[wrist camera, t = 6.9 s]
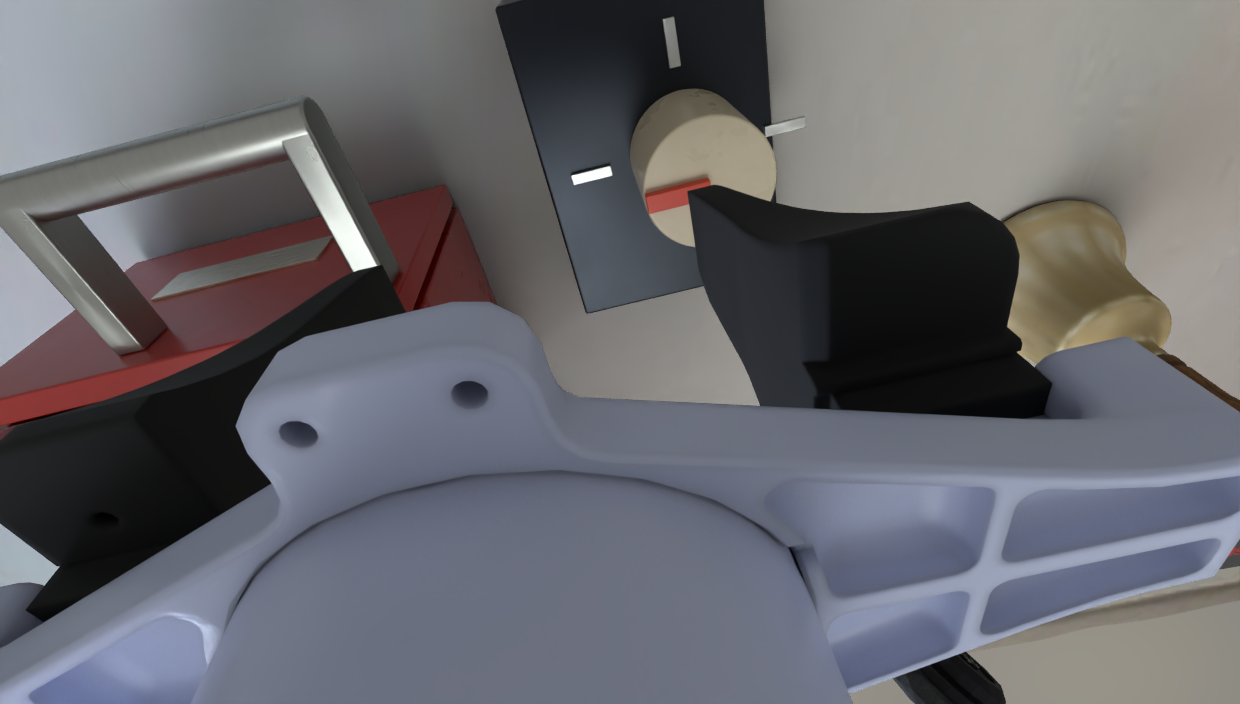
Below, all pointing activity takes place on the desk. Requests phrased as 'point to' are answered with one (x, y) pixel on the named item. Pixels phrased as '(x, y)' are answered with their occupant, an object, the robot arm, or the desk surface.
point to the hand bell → (1084, 287)
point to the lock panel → (626, 119)
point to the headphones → (952, 683)
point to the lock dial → (696, 156)
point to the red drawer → (194, 254)
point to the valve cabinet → (445, 281)
